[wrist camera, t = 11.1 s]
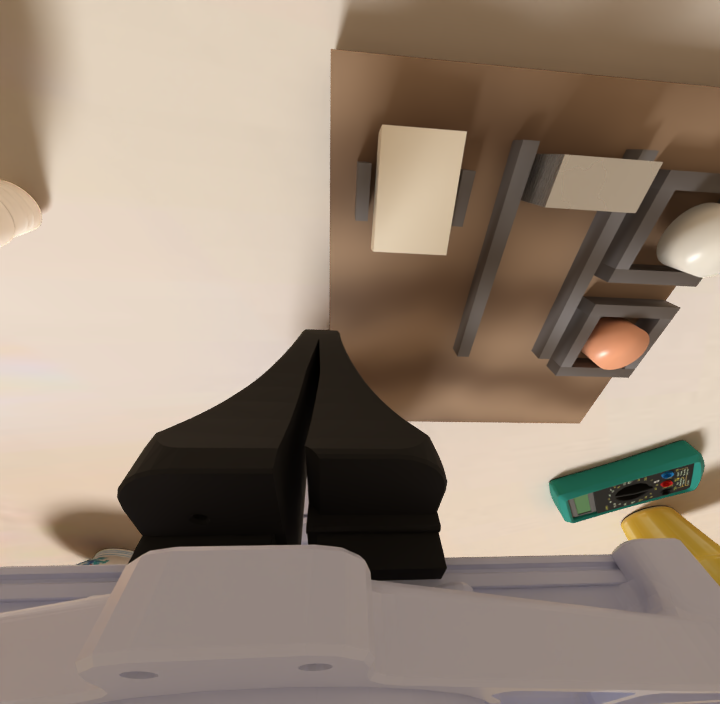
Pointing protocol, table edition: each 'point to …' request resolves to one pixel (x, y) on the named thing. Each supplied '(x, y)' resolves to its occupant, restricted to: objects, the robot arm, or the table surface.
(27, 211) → the lightbulb
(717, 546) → the plant pot
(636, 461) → the digital multimeter
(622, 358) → the peach egg shape
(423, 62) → the brown flat wooden tray
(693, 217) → the cream egg shape
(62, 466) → the table surface
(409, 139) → the block
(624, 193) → the light grey small block
